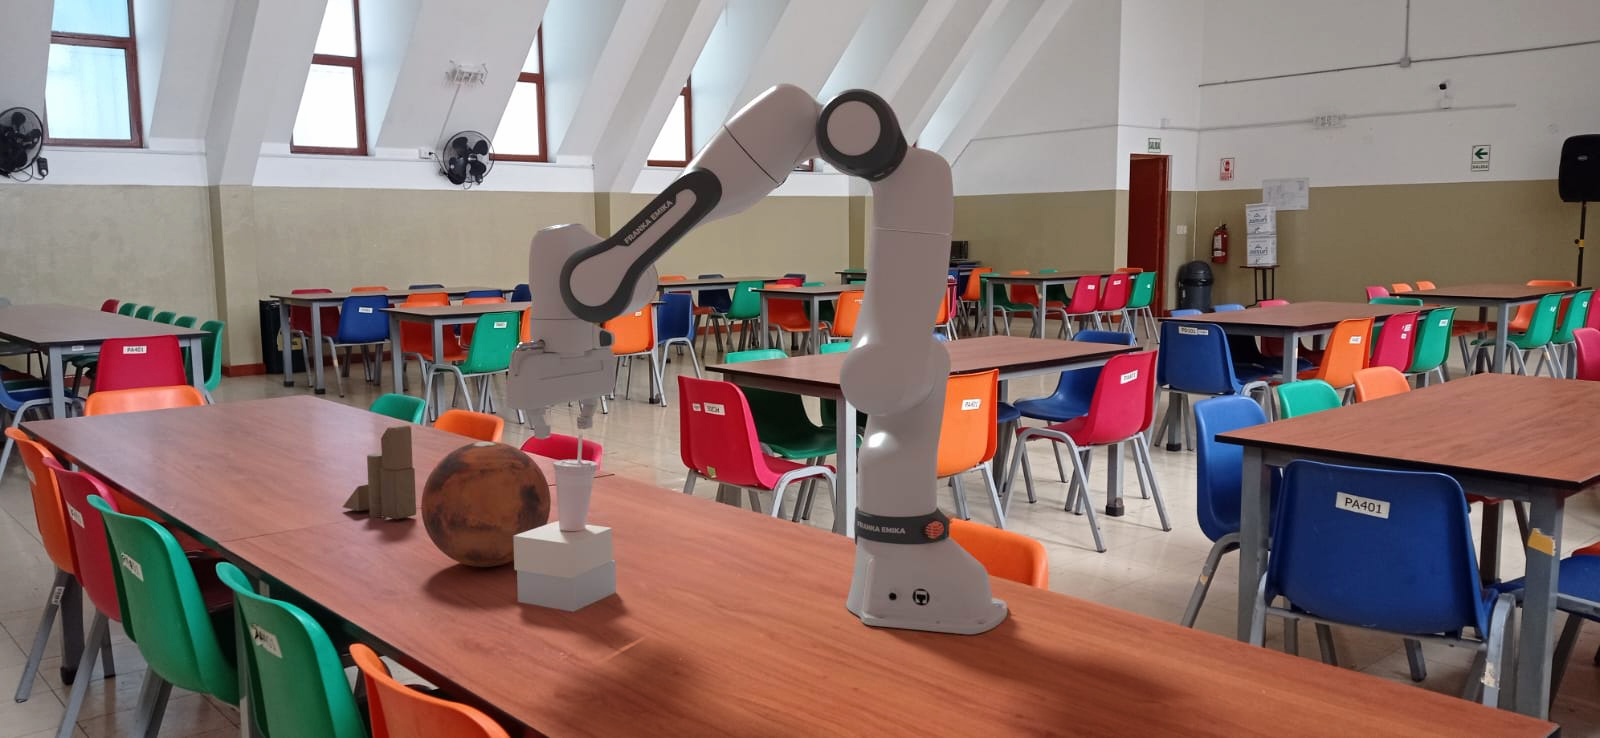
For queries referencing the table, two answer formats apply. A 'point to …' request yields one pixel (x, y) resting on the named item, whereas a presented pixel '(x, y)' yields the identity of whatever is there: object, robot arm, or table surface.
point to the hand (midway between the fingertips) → (564, 433)
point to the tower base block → (567, 588)
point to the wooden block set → (389, 478)
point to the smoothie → (574, 490)
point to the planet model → (484, 502)
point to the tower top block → (562, 550)
